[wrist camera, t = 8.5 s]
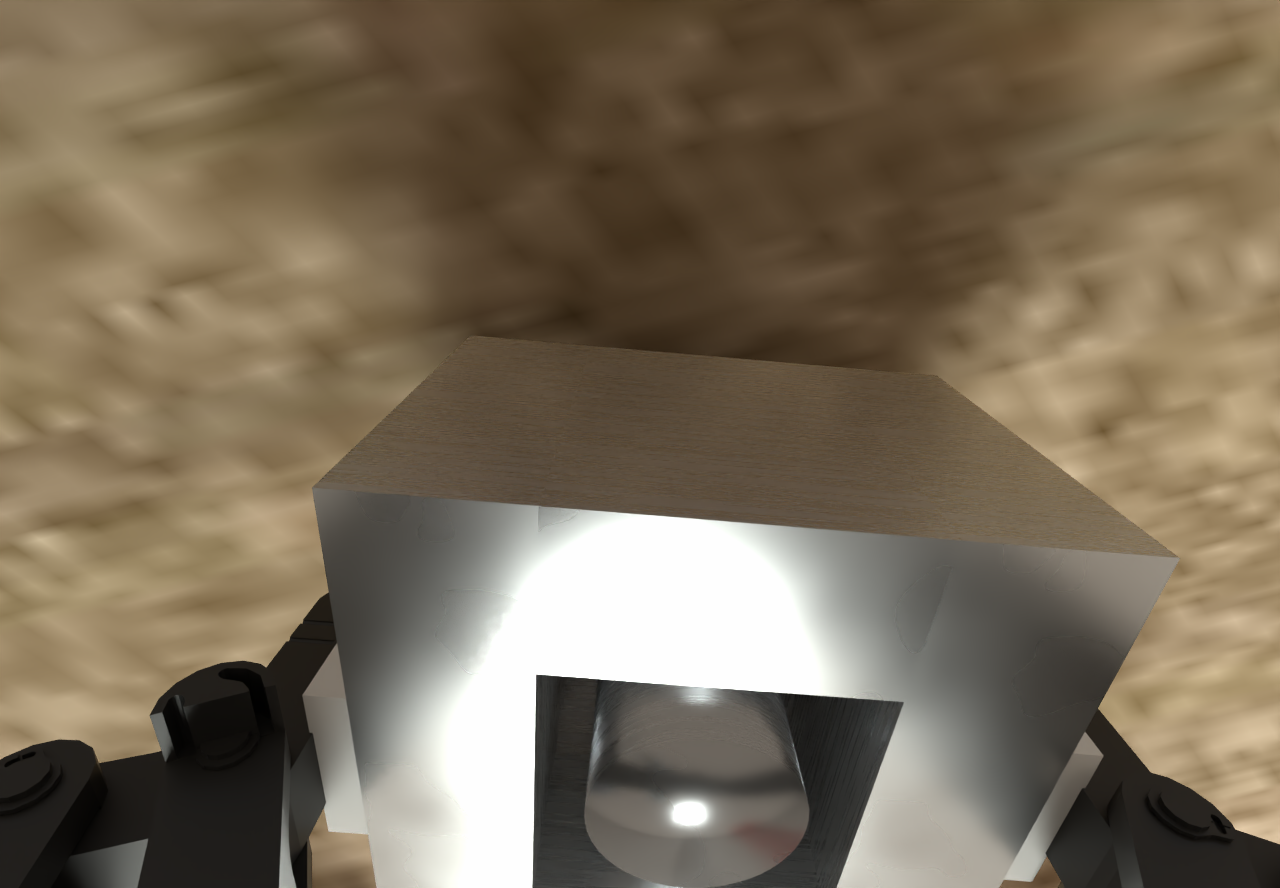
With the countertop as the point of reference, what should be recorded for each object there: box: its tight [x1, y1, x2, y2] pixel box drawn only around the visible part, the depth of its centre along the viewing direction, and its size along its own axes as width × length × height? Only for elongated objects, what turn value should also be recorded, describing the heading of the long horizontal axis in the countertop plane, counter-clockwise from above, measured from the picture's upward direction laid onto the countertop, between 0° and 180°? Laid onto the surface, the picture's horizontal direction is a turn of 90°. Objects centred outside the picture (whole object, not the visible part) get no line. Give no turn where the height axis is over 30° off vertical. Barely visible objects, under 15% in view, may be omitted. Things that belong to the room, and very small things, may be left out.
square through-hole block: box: [312, 335, 1180, 888], centre depth 11 cm, size 9×9×6 cm
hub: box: [584, 679, 809, 888], centre depth 12 cm, size 8×8×8 cm
